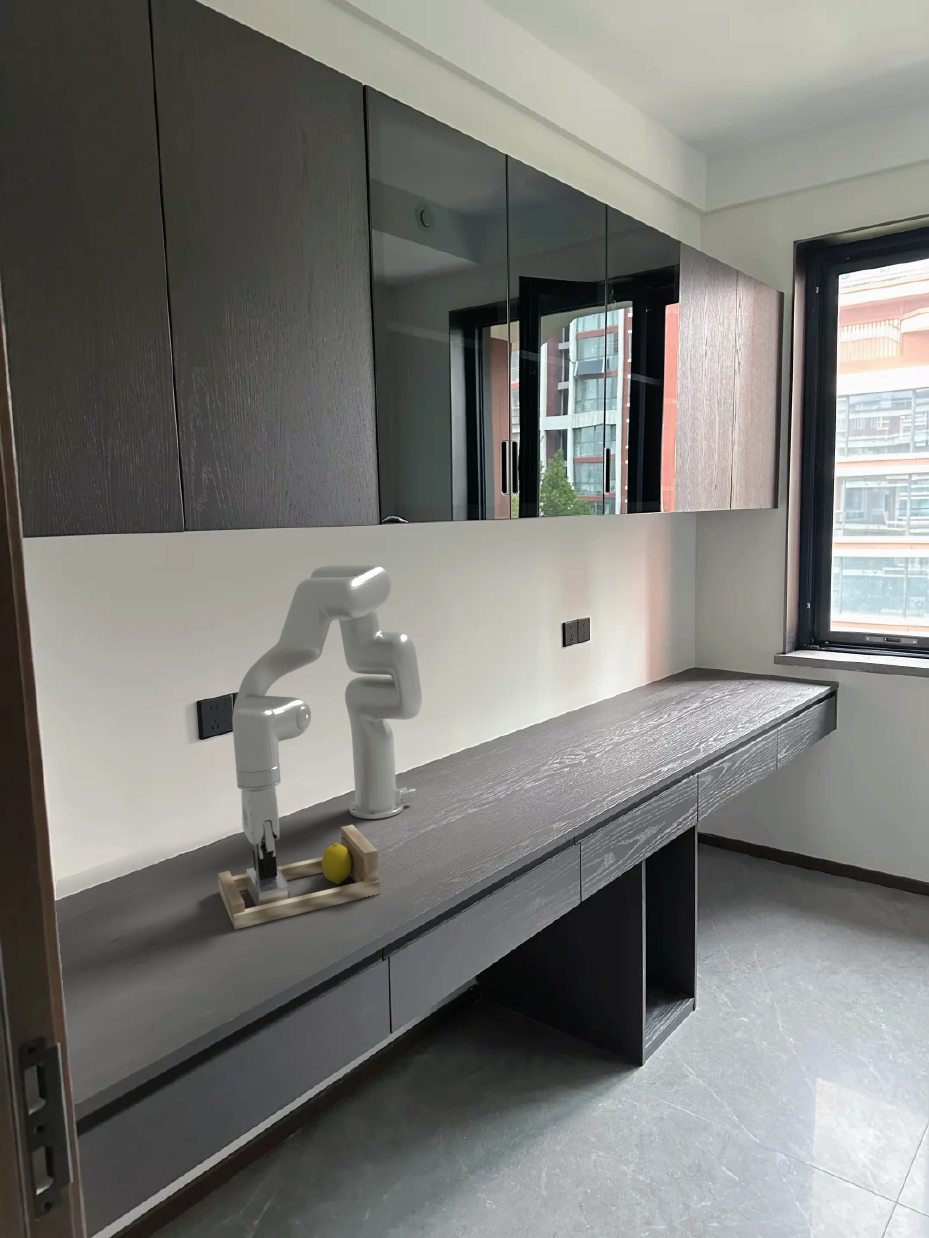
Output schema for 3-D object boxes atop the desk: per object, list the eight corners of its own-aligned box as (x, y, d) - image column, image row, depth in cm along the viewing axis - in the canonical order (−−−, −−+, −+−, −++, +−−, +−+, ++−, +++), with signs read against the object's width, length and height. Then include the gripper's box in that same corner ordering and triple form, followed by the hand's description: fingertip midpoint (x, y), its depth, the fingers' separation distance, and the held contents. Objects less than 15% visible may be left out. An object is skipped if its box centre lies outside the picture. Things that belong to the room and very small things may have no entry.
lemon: (339, 874, 163) (336, 835, 161) (358, 882, 159) (356, 841, 158) (317, 885, 158) (314, 844, 157) (336, 893, 155) (334, 851, 154)
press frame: (353, 861, 168) (351, 823, 167) (381, 893, 154) (378, 851, 153) (219, 891, 157) (215, 850, 156) (235, 929, 143) (231, 884, 142)
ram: (277, 882, 159) (273, 824, 158) (292, 906, 150) (287, 845, 148) (247, 889, 157) (243, 830, 155) (260, 914, 147) (255, 851, 146)
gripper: (228, 767, 156) (236, 861, 158) (246, 793, 141) (254, 896, 144) (269, 760, 159) (276, 853, 161) (290, 785, 144) (297, 886, 147)
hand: (265, 872), depth 152 cm, fingers closed on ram, 3 cm apart
